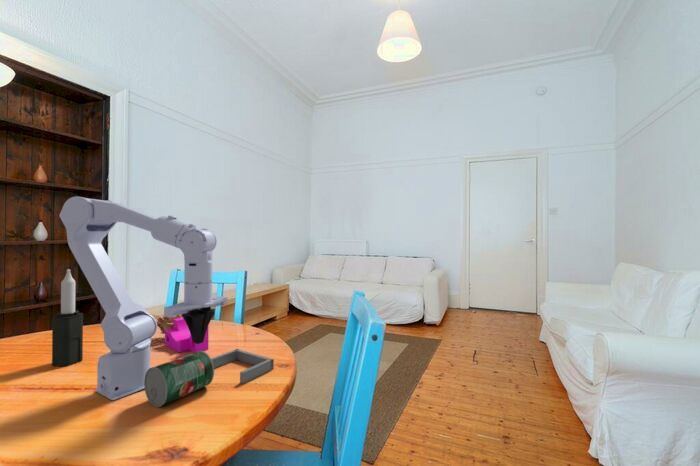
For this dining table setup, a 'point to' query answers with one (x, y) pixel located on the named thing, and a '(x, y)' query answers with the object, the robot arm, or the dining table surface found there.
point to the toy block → (183, 338)
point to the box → (259, 361)
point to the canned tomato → (178, 378)
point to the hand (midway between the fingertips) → (197, 342)
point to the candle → (67, 328)
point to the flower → (166, 322)
